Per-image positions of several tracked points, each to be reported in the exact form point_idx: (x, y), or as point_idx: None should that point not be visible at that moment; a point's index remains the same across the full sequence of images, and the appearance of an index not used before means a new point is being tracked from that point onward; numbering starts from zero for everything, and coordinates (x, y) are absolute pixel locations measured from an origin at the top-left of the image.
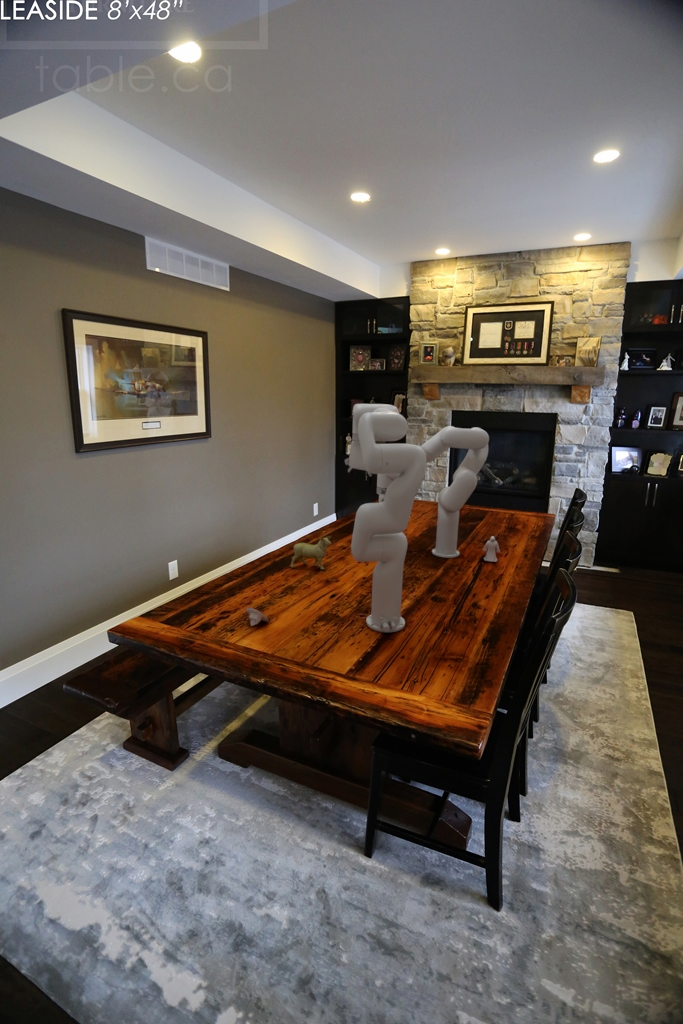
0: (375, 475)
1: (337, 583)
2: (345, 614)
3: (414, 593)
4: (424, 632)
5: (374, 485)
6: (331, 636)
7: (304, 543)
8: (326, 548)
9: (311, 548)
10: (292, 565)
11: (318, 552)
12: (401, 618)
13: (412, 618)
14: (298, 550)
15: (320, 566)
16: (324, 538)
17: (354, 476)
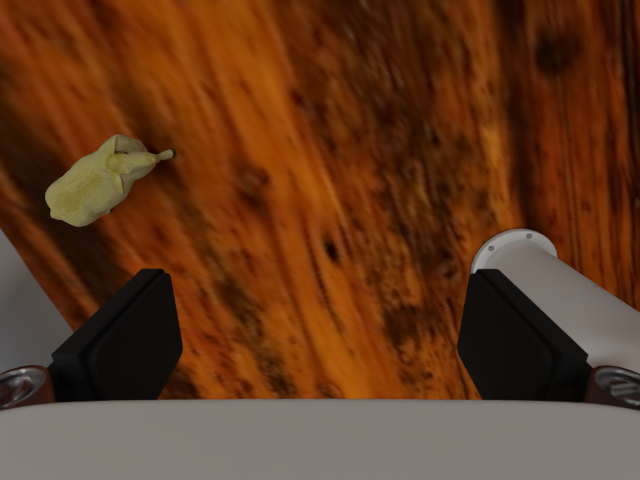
0: (634, 393)
1: (278, 189)
2: (418, 293)
3: (480, 72)
4: (598, 236)
5: (498, 271)
6: (457, 363)
7: (68, 197)
8: (140, 151)
9: (111, 192)
10: (105, 212)
11: (138, 177)
12: (539, 238)
13: (547, 204)
14: (92, 221)
15: (161, 159)
16: (118, 168)
17: (137, 340)
